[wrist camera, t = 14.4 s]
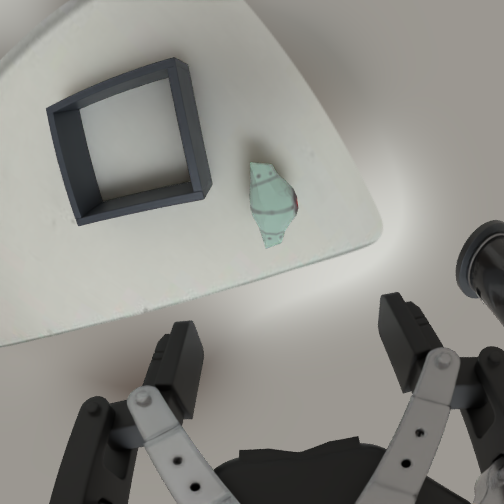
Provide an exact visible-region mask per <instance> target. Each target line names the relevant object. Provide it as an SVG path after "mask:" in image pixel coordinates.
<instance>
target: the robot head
mask: <svg viewBox="0 0 504 504" xmlns="http://www.w3.org/2000/svg"><path fill="white" fill-rule="evenodd" d="M250 174H251V184H250V194H249V196H250V207H251V211H252V215H253V217H254V219H255V221H256V222H257V224H258V226H259V228H260V231H261V235H262V238H263V241H264V244H265V247H266V248H269V247H272V246H275V245H277V244H280V243H281V242H282V240H283V237H284V232H285V230H286V229H287V227H288V226H289V224H290V222H291V221H292V220H293V219H294V217H295V216H296V214H297V211H298V203H297V196H296V194H295V191H294V189H293V188H292V187H291V186H290V185H289V184H288V183H287V182H286V181H285V180H284V179H283V178H282V177H280V176H279V175H278V174H277V172H276V171H275V169H274V167H273V165H272V164H268V163H253V162H250Z"/></svg>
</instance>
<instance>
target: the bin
mask: <svg viewBox="0 0 504 504" xmlns="http://www.w3.org/2000/svg"><path fill="white" fill-rule="evenodd" d="M168 77H169V81H170V86H171V91H172V96H173V101H174V106H175V111H176V116H177V121H178V125H179V130H180V135H181V139H182V144H183V148H184V153H185V157H186V162H187V166H188V170H189V175H190V179H191V182H186V183H181V184H176V185H171V186H167V187H162V188H158V189H153V190H149V191H145V192H140V193H136V194H132V195H128V196H124V197H120V198H116V199H112V200H108V201H104V202H103V201H102V198H101V195H100V191H99V188H98V185H97V181H96V178H95V174H94V170H93V167H92V163H91V159H90V155H89V151H88V147H87V143H86V139H85V135H84V130H83V126H82V121H81V117H80V112H79V109H81V108H83V107H86V106H88V105H90V104H93V103H95V102H98V101H100V100H103V99H105V98H108V97H110V96H113V95H116V94H118V93H121V92H124V91H127V90H130V89H133V88H136V87H139V86H142V85H145V84H148V83H151V82H154V81H158V80H161V79H164V78H168ZM46 111H47V115H48V121H49V126H50V131H51V135H52V140H53V144H54V148H55V152H56V156H57V160H58V164H59V167H60V171H61V174H62V178H63V181H64V185H65V188H66V191H67V195H68V198H69V201H70V204H71V207H72V210H73V213H74V216H75V219H76V221H77V224H78V226H82V225H86V224H90V223H94V222H98V221H102V220H107V219H111V218H115V217H120V216H124V215H129V214H133V213H138V212H142V211H147V210H152V209H157V208H162V207H166V206H171V205H177V204H182V203H187V202H192V201H198V200H203V199H205V197H206V195H207V193H208V192H209V190H210V188H211V186H212V180H211V175H210V170H209V165H208V161H207V156H206V151H205V147H204V142H203V137H202V132H201V127H200V123H199V118H198V113H197V108H196V103H195V98H194V93H193V88H192V83H191V77H190V72H189V67H188V64H186V63H184V62H182V61H180V60H179V59H177V58H175V57H173V58H170V59H166V60H163V61H160V62H156V63H153V64H150V65H147V66H144V67H141V68H138V69H135V70H132V71H129V72H127V73H124V74H121V75H119V76H116V77H113V78H111V79H108V80H106V81H103V82H101V83H98V84H96V85H94V86H91V87H89V88H87V89H85V90H82V91H80V92H78V93H76V94H74V95H72V96H69V97H67V98H65V99H63V100H61V101H59V102H57V103H55V104H53V105H51V106H50V107H48V108H46Z"/></svg>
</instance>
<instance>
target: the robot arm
mask: <svg viewBox="0 0 504 504" xmlns="http://www.w3.org/2000/svg"><path fill="white" fill-rule="evenodd" d="M467 282H468V284H469V286H470V288H471V289H472V290H473V291H474V292H475V293H476V294H477V295H478V297H479V298H481V299H482V300H483V301H484V303H485V304H486V305H487V306H488V308H489V309H490V310H491V311H492V312H493V314H494V315H495V316H496V317H497V319H498V320H499V321H500V322H501V324H502V325H503V326H504V233H502V232H496V233H493V234H491V235H489V236H487V237H486V238H485V239H484V240H483V241H482V242H481V243H480V244H479V245H478V246H477V248H476V249H475V251H474V252H473V254H472V256H471V259H470V261H469V264H468V268H467ZM481 299H480V300H481ZM482 300H481V301H482ZM484 303H483V304H484ZM379 309H380V310H379V320H378V329H379V334H380V337H381V340H382V342H383V344H384V347H385V349H386V352H387V354H388V356H389V359H390V361H391V364H392V366H393V368H394V371H395V374H396V376H397V379H398V381H399V384H400V386H401V389H402V392H403V393H406V392H410V391H412V394H413V395H412V396H411V399H410V401H409V403H408V406H407V408H406V410H405V413H404V415H403V417H402V419H401V422H400V424H399V426H398V428H397V430H396V432H395V434H394V436H393V439H392V440H391V442H390V444H389V446H388V448H387V449H385V448H382V447H380V446H376V445H372V444H365V443H360V442H359V438H358V436H357V437H352V438H346V439H341V440H335V441H329V442H327V443H324V444H322V445H319V446H316V447H314V448H311V449H308V450H305V451H303V452H291V451H282V450H275V449H255V450H240V451H239V458H235V459H233V460H230V461H227V462H225V463H223V464H222V465H220V466H218V467H217V468H215V469H214V470H213V469H212V467H211V466H210V465H209V464H208V462H207V461H206V460H205V458H204V457H203V456H202V454H201V453H200V451H199V450H198V449H197V447H196V446H195V445H194V443H193V442H192V440H191V439H190V437H189V436H188V435H187V433H186V432H185V430H184V429H183V427H182V423H183V419H192V418H193V413H194V408H195V402H196V397H197V391H198V386H199V380H200V375H201V370H202V365H203V359H204V351H203V346H202V344H201V341H200V338H199V336H198V333H197V330H196V327H195V325H194V323H193V321H180V322H175V323H174V325H173V328H172V331H171V333H170V334H165V335H164V336H163V337H162V338H161V339H160V341H159V342H158V344H157V346H156V349H155V353H154V354H153V357H152V360H151V363H150V366H149V368H148V371H147V374H146V377H145V380H144V383H143V385H142V386H141V387H139V388H136V389H135V390H134V391H132V392H131V394H130V395H129V397H128V399H127V400H124V401H120V402H115V403H110V404H109V402H108V401H107V400H106V399H105V398H103V397H100V396H96V397H92V398H90V399H88V400H86V402H84V403H83V405H82V406H81V409H80V411H79V414H78V416H77V419H76V422H75V424H74V427H73V430H72V433H71V436H70V438H69V441H68V444H67V447H66V450H65V453H64V456H63V459H62V462H61V465H60V468H59V472H58V475H57V478H56V482H55V485H54V488H53V492H52V495H51V500H50V503H49V504H128V499H129V493H130V488H131V482H132V476H133V471H134V466H135V461H136V456H137V451H138V448H139V447H145V449H146V451H147V453H148V455H149V457H150V459H151V460H152V462H153V464H154V466H155V468H156V469H157V471H158V473H159V475H160V476H161V478H162V480H163V481H164V483H165V485H166V486H167V488H168V490H169V491H170V493H171V495H172V496H173V498H174V499H175V501H176V502H177V504H471V503H470V502H469V501H467V500H466V499H464V498H462V497H460V496H459V495H457V494H455V493H454V492H452V491H450V490H449V489H447V488H445V487H444V486H442V485H441V484H439V483H437V482H436V481H434V480H433V479H431V478H429V477H428V476H426V475H427V473H428V471H429V469H430V466H431V464H432V461H433V459H434V456H435V454H436V451H437V449H438V446H439V443H440V441H441V438H442V435H443V432H444V429H445V426H446V423H447V420H448V417H449V414H450V410H451V409H460V411H461V414H462V416H463V419H464V422H465V424H466V427H467V430H468V433H469V436H470V439H471V442H472V445H473V448H474V451H475V454H476V458H477V461H478V464H479V468H480V471H481V475H480V476H479V477H478V479H477V481H476V483H475V498H474V502H473V504H504V351H503V350H502V349H500V348H498V347H492V346H490V347H486V348H484V349H483V350H482V351H481V352H480V354H479V356H478V357H459V356H458V355H457V354H456V352H455V351H453V350H451V349H449V348H444V347H443V345H442V343H441V342H440V340H439V338H438V337H437V335H436V333H435V332H434V330H433V328H432V327H431V325H430V324H429V322H428V320H427V319H426V317H425V316H424V314H423V313H422V311H421V309H420V308H419V307H418V306H416V305H415V304H414V303H412V302H411V301H410V302H405V301H404V300H403V298H402V296H401V295H400V293H398V292H395V293H390V294H385V295H382V296H381V298H380V308H379Z"/></svg>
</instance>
